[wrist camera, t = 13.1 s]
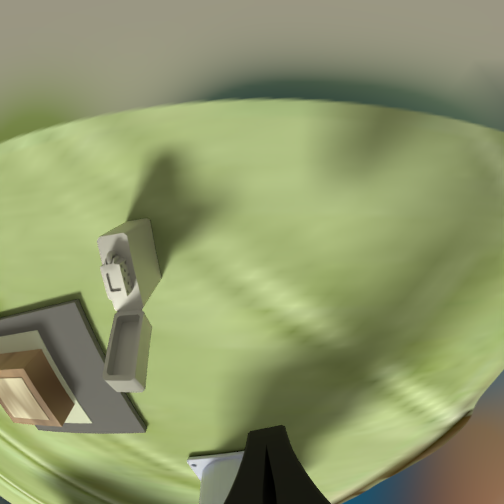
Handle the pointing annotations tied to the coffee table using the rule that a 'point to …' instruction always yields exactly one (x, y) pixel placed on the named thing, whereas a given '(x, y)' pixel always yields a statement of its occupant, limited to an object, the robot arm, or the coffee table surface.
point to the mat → (72, 367)
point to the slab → (32, 390)
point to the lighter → (129, 301)
